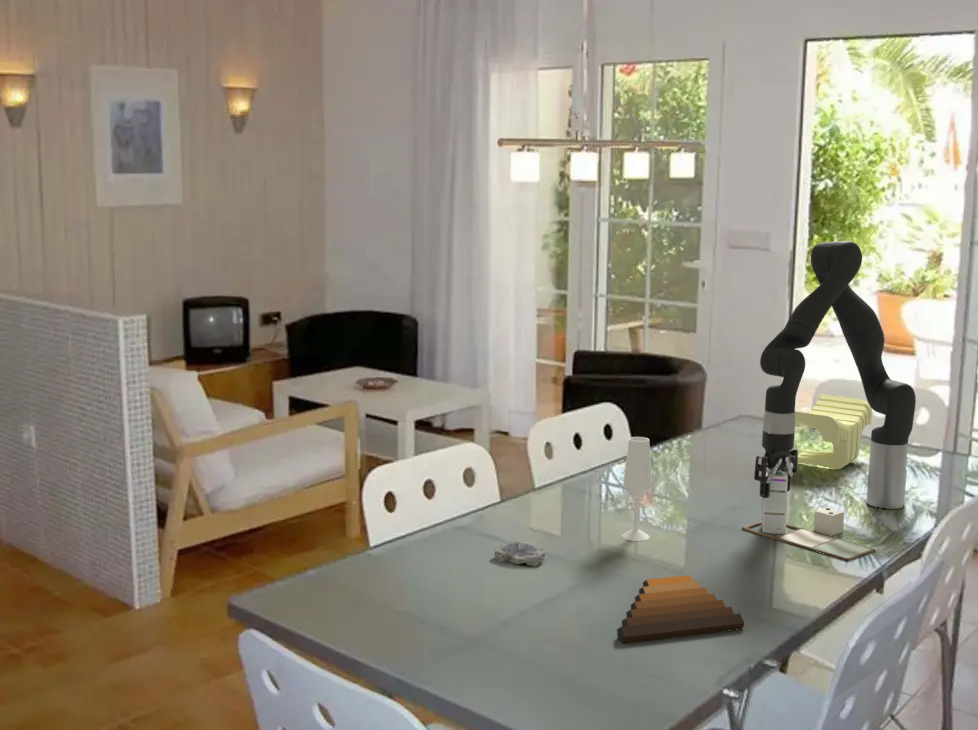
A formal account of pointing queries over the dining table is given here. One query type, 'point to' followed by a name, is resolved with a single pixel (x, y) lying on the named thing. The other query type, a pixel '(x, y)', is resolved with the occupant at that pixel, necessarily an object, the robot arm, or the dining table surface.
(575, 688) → the dining table surface
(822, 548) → the board
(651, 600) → the pan flute
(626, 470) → the champagne flute
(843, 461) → the slatted curved stool
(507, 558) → the grey stone dish
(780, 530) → the syrup box
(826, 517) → the die
